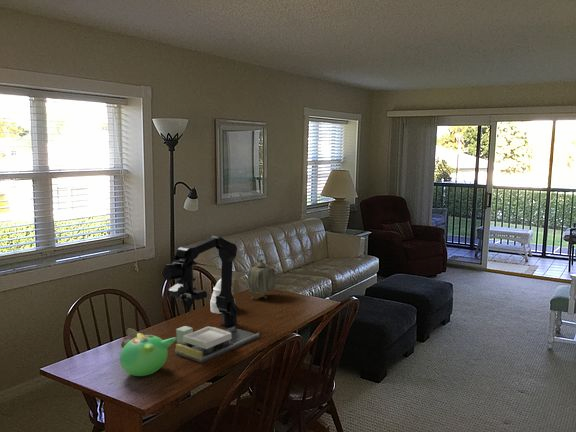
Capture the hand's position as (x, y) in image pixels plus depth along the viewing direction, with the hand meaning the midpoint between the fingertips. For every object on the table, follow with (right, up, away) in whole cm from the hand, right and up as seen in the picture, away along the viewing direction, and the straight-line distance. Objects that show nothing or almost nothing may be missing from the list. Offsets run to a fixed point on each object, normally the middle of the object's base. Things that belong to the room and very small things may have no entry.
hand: (187, 311), depth 213 cm
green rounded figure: (-9, -17, -29) cm, 35 cm away
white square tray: (+10, -13, -8) cm, 18 cm away
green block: (-1, -13, +2) cm, 13 cm away
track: (+14, -14, -3) cm, 20 cm away
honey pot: (+9, -8, +45) cm, 47 cm away
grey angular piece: (-22, -15, -6) cm, 27 cm away
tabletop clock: (+29, -5, +65) cm, 72 cm away
